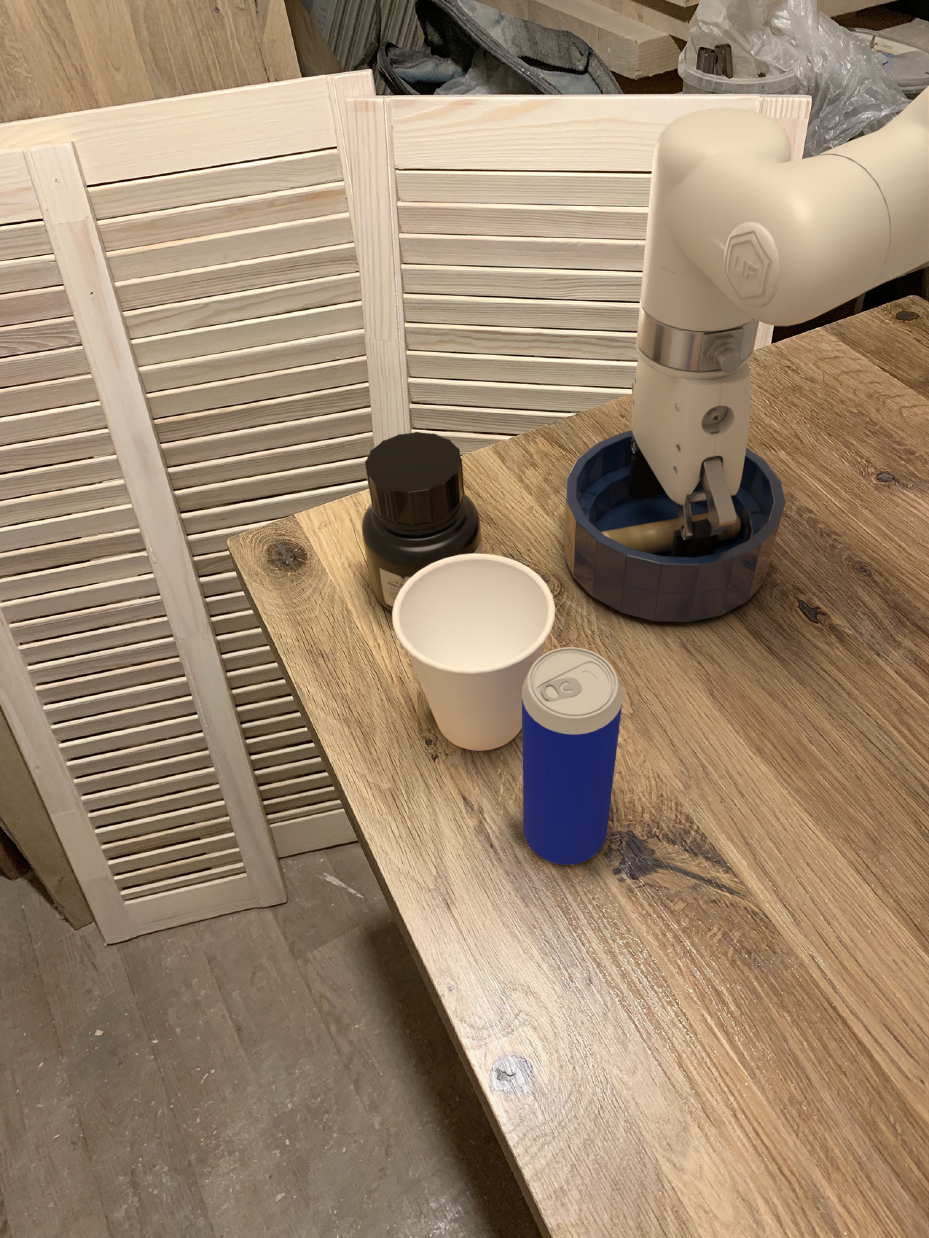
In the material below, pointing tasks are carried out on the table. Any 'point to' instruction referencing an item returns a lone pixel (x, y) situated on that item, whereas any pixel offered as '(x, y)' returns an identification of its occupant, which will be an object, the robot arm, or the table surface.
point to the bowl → (658, 578)
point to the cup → (474, 642)
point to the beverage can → (569, 753)
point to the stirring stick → (660, 534)
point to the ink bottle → (415, 510)
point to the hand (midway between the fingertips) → (667, 529)
